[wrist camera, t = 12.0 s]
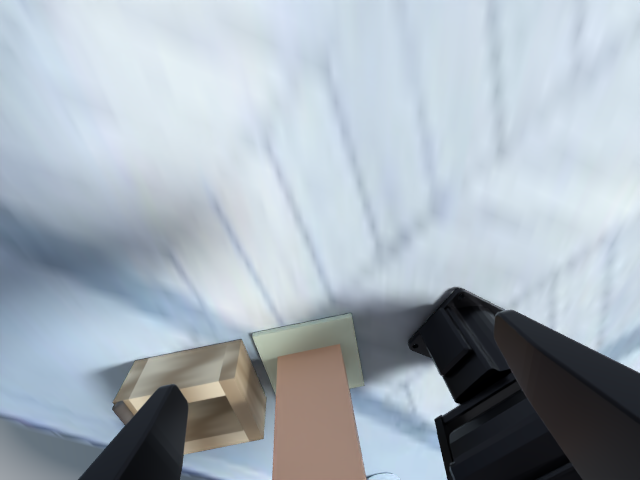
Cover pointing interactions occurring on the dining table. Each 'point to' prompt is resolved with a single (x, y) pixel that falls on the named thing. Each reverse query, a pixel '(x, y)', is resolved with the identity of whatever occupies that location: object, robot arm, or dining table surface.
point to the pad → (311, 344)
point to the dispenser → (202, 393)
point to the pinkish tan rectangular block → (315, 419)
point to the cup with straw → (384, 477)
